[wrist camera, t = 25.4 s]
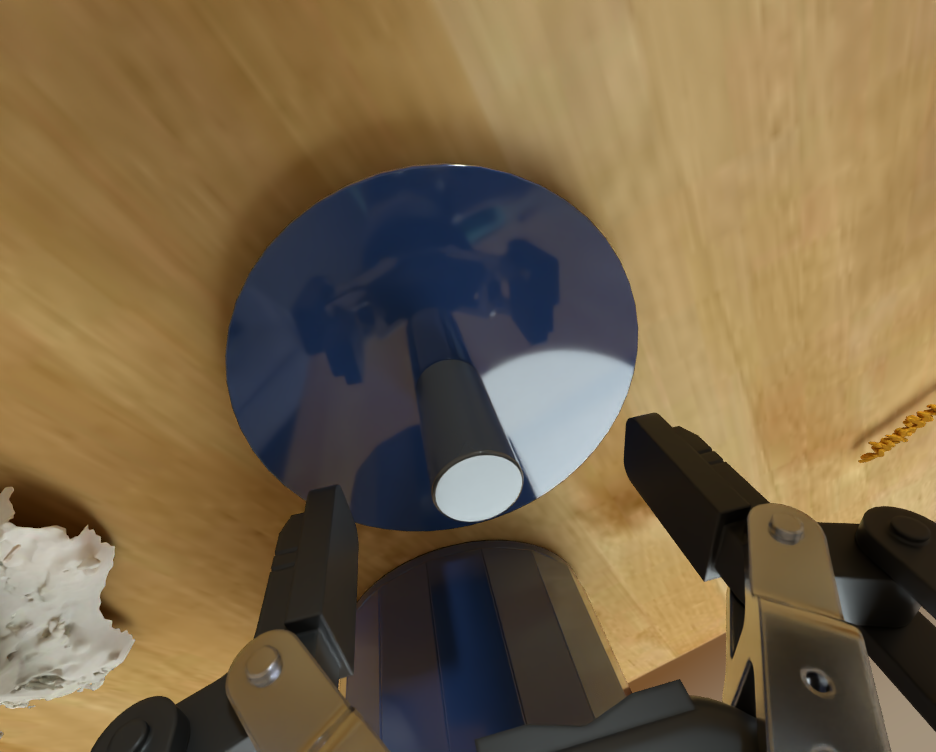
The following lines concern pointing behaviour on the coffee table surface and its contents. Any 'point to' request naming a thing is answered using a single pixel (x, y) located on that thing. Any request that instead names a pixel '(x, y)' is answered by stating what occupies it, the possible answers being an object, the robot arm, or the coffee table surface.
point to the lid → (432, 346)
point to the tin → (478, 648)
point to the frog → (53, 612)
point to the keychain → (900, 433)
